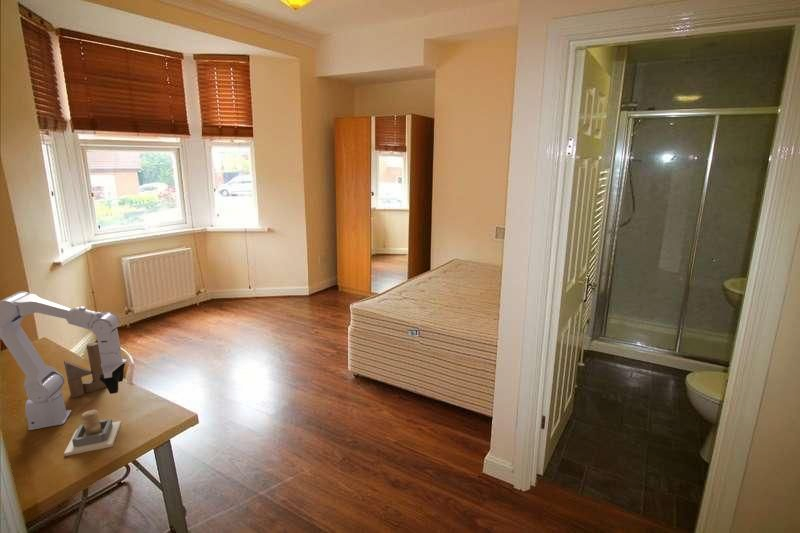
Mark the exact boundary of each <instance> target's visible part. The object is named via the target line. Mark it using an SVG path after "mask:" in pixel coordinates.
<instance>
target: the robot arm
mask: <svg viewBox="0 0 800 533" xmlns="http://www.w3.org/2000/svg"><path fill="white" fill-rule="evenodd" d="M36 313H38V314H42V315H45V316H46V315H47V316H52V317H55V318H59V319H65V320H66V321H67V323H68V324H69V325H73V326H76V327H79V328H82V329H83V328H84V329H85V330H90V331H91V332H92V334H94V335H95V336H96V341H97V343H98V346H99V351H100V357H101V363H102V364H101V367H102V369H103V374H102V375H100V376H99V379H100V380H101V381H102V382H103V383H104V384H105V385H106V387H105V388H106V389H107V391H108V393H109V394H110V395H112V394H117V393H119V383H121V382H123V381H124V373H125V372H124V371H125V365H126V363H127V362H128V359H127V358H123V354H122V348H121V343H120V336H119V330H118V328H117V327H118V326H119V325H120V318H119V316H118V315H117V314H116V313H113V312H112V311H107V312H101V311H94V310H91V309H88V308H87V307H86V306H75V307H73V308H70V307H67V306H65V305H61V304H59V303H56V302H53V301H50V300H48V299H44V298H41V297H39V295H37V294H36V293H30V292H27V291H17V292H15V293H14V294H12V295H9V296H8V297H5V298H3V299H1V300H0V339H1V341H2V342H3V344H4V345H5V347H6V348H7V349H8V351H9V353H10V354H11V356H12V357H13V358H14V360H15V362H16V364H17V365H18V366H19V368H20V369H21V370H22V372H23V373H24V375H25V379H24V382H23V387H24V389H25V391H26V392H25V394H26V397H27V400H26V402H25V406H24V412H25V418H26V421H27V425H28V428H27V429H28V431H32V430H38V429H43V428H48V427H49V428H50V427H54V426H55V427H56V426H59V425H60V426H61V425H64V424H65V423H66V422H67V420H68V418H69V416H70V414H71V413H72V409H66V404H65V398H64V395H63V386H64V384H65V381H66V380H65V377H64V375H63V374H62V373H60V372H58V370H56V368H55V367H54V366H49V365H46V362H45V361H44V360H43V358H42V357H41V355H40V354H39V352H38V351H37V349H36V347H35V346H34V345H33V343H32V341H31V339H30V338H29V336H28V335H27V334H26V332H25V331H24V329H23V327H22V326H21V322H22V321H23V319H24V317H25V316H27V315H31V314H32V315H33V314H36ZM61 386H62V387H61Z"/></svg>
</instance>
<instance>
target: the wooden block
mask: <svg viewBox="0 0 800 533" xmlns="http://www.w3.org/2000/svg"><path fill="white" fill-rule="evenodd" d="M86 350H87V351H86V352H87V356H88V361H89V366H90V369H89V368H86V367H84V366H80V365H78V364H75V363H73V362H70V361H68V360H66V359H64V360H63V364H64V365H63V366H64V370H65V373H66V377H67V385H68V389H69V393H70V396H71V397H72V398H73V399H74V398H78V397H82V396H84V395H85V393H92V392H96V391H99V390H102V389H104V388H107V387H106V385H105V384H104V383H103V382H102V381H101V380H100V379H99V376H100V375H102V374H103V373H104V371H103V369H102V367H101V364H102V363H101V357H100V351H99V346H98V341H97V342H96V341H95V342H89V343H88V344H86ZM89 375H91V377H92V378H91V379H87V380H85V381H83V380H82V379H83V378H82V377H86V376H89Z"/></svg>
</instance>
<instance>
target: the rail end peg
mask: <svg viewBox="0 0 800 533" xmlns="http://www.w3.org/2000/svg"><path fill="white" fill-rule="evenodd" d="M81 418H82V423H83V424H84V429H85V434H86V436H90V435H95V434H100V433H102V430H101V425H100V421H101V420H100V415H99V411H98V410H97V409H90V410H88V411H85V412H84V413H82V414H81ZM83 424H82V425H83Z"/></svg>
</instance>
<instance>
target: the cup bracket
mask: <svg viewBox="0 0 800 533" xmlns="http://www.w3.org/2000/svg"><path fill="white" fill-rule="evenodd" d="M100 425H101V430H102V433H100V434H95V435H90V436H86V434H85V429H84V424H80V425H79V426H78V427H77V429H76V430H75V431H74V433H73V435H72V437H71V439H70V440H69V443H68V445H67V447H66V448H65V451H64V453H63V455H64V457H66V456H72V455H77V454H81V453H87V452H91V451H97V450H102V449H106V448H111V447H113V446H114V444H115V441H116V438H117V436H118V433H119V430H120V427H121V425H122V421H121V420H118V421H113V420H112V418H111V419H101V420H100Z"/></svg>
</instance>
